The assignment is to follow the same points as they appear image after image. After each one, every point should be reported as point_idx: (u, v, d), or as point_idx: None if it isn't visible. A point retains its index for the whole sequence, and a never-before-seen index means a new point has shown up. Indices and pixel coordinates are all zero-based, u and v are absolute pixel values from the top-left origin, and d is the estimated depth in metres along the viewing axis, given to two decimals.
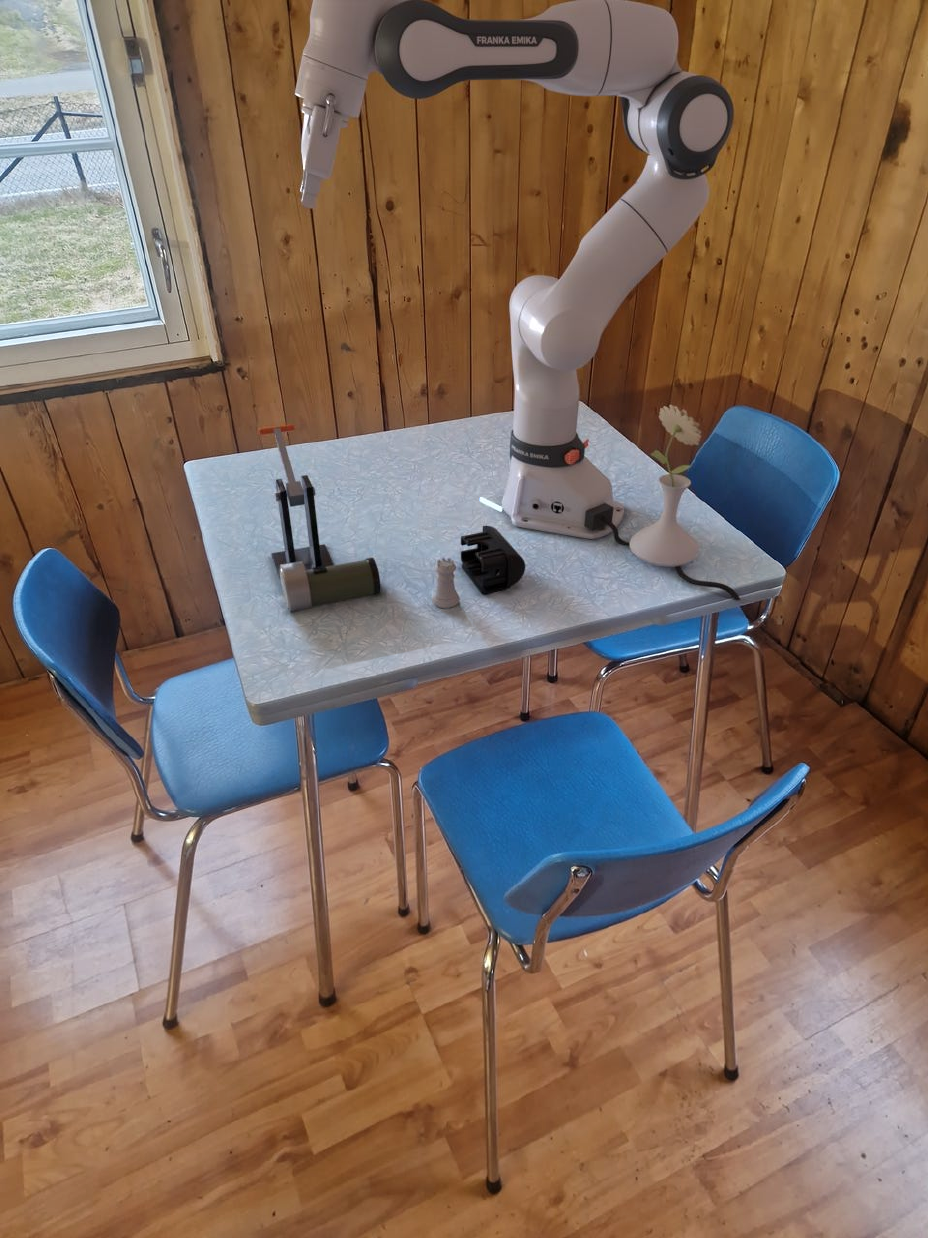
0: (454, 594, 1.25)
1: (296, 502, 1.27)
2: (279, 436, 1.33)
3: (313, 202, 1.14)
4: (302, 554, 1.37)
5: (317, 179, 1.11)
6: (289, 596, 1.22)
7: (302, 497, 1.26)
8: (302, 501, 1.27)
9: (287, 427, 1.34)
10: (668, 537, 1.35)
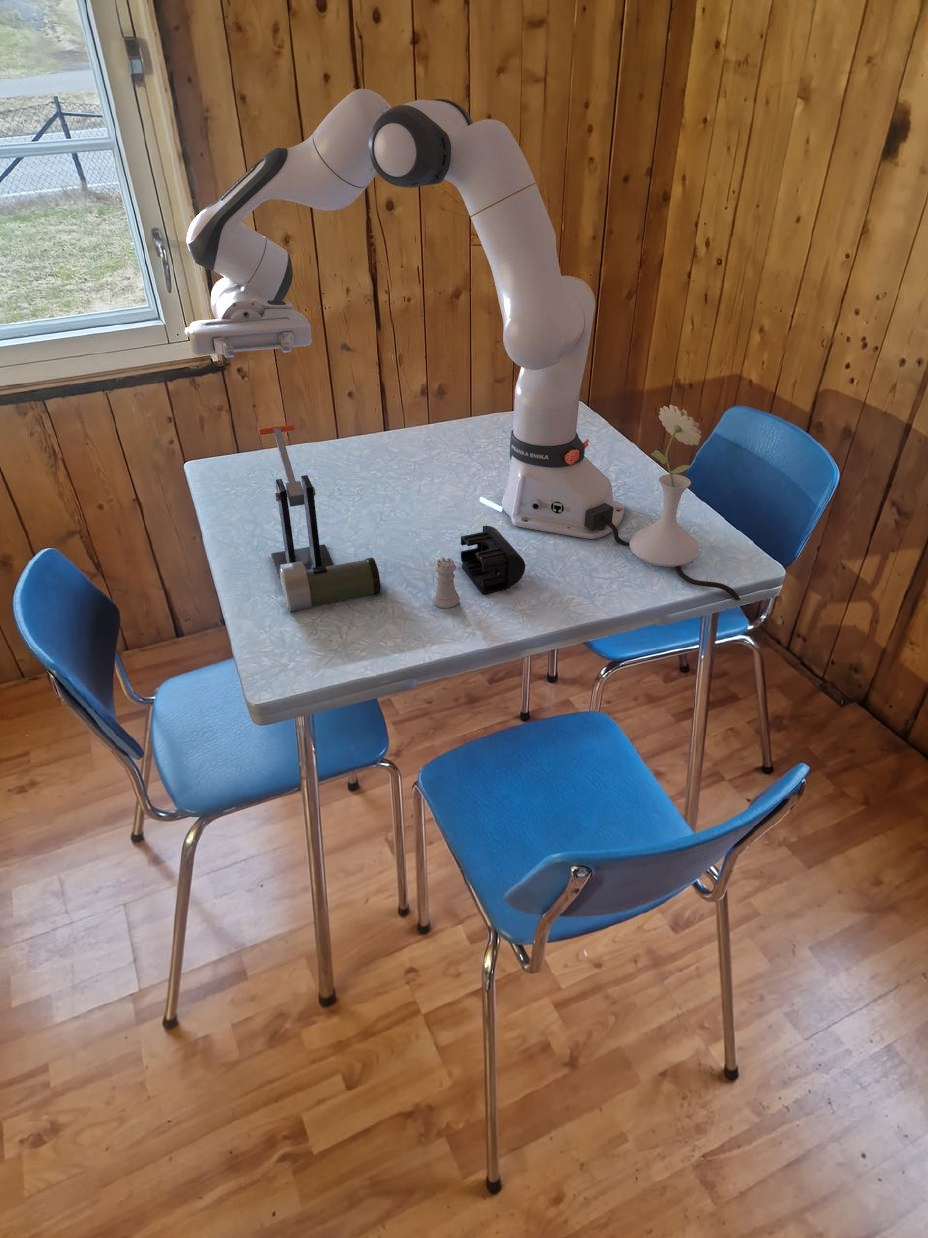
0: (454, 594, 1.25)
1: (296, 502, 1.27)
2: (279, 436, 1.33)
3: (223, 347, 1.35)
4: (302, 554, 1.37)
5: (214, 342, 1.37)
6: (289, 596, 1.22)
7: (302, 497, 1.26)
8: (302, 501, 1.27)
9: (287, 427, 1.34)
10: (668, 537, 1.35)
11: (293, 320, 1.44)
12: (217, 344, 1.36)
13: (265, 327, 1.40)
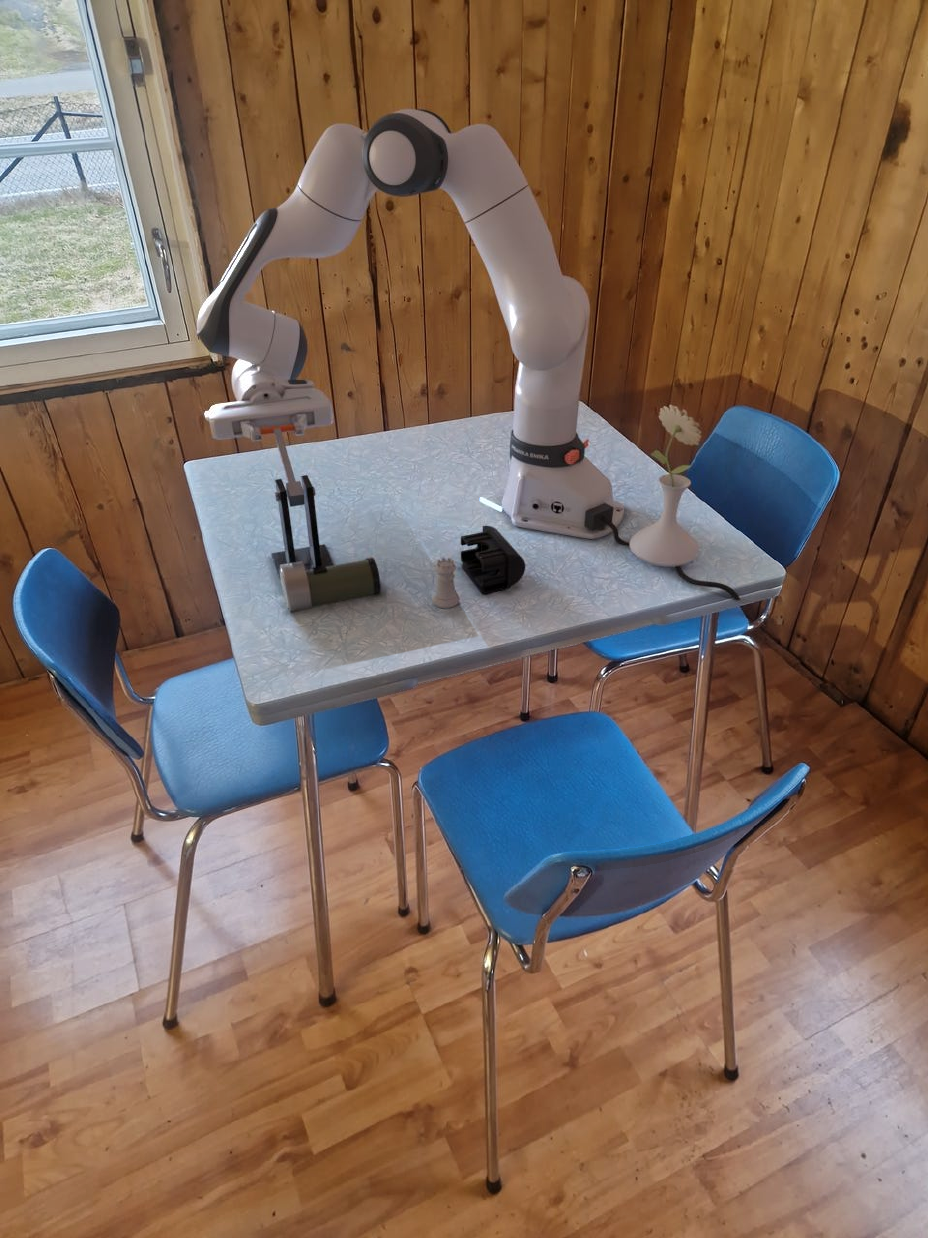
0: (454, 593, 1.25)
1: (296, 502, 1.27)
2: (279, 436, 1.33)
3: (250, 431, 1.32)
4: (302, 554, 1.37)
5: (241, 426, 1.34)
6: (289, 596, 1.22)
7: (302, 497, 1.26)
8: (302, 501, 1.27)
9: (287, 427, 1.34)
10: (668, 537, 1.35)
11: (314, 399, 1.40)
12: (244, 428, 1.33)
13: (285, 408, 1.36)
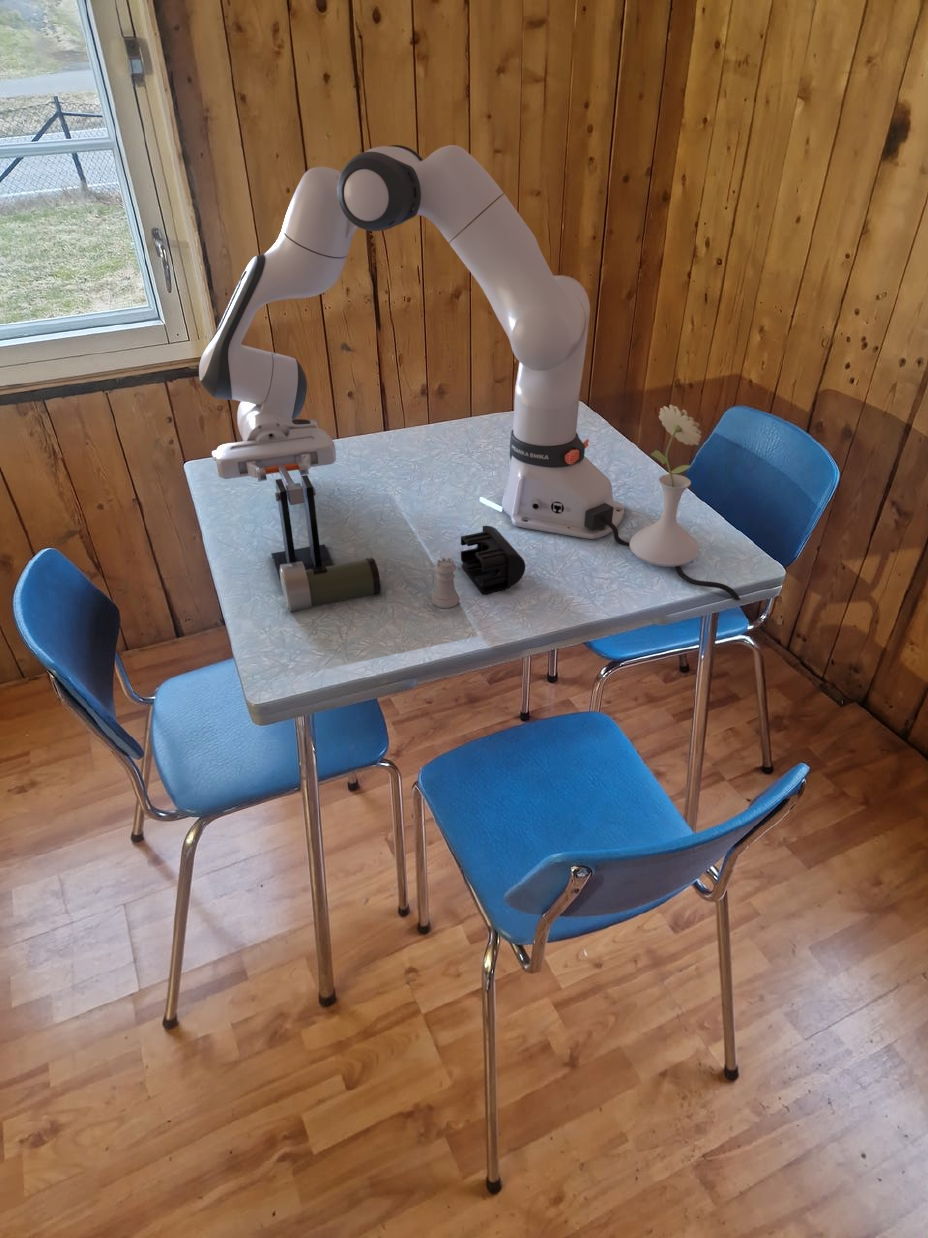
0: (454, 594, 1.25)
1: (296, 499, 1.26)
2: (283, 469, 1.37)
3: (256, 472, 1.37)
4: (302, 554, 1.37)
5: (247, 466, 1.39)
6: (289, 596, 1.22)
7: (301, 492, 1.26)
8: (302, 498, 1.26)
9: (291, 465, 1.39)
10: (668, 537, 1.35)
11: (318, 439, 1.45)
12: (250, 468, 1.38)
13: (290, 449, 1.41)
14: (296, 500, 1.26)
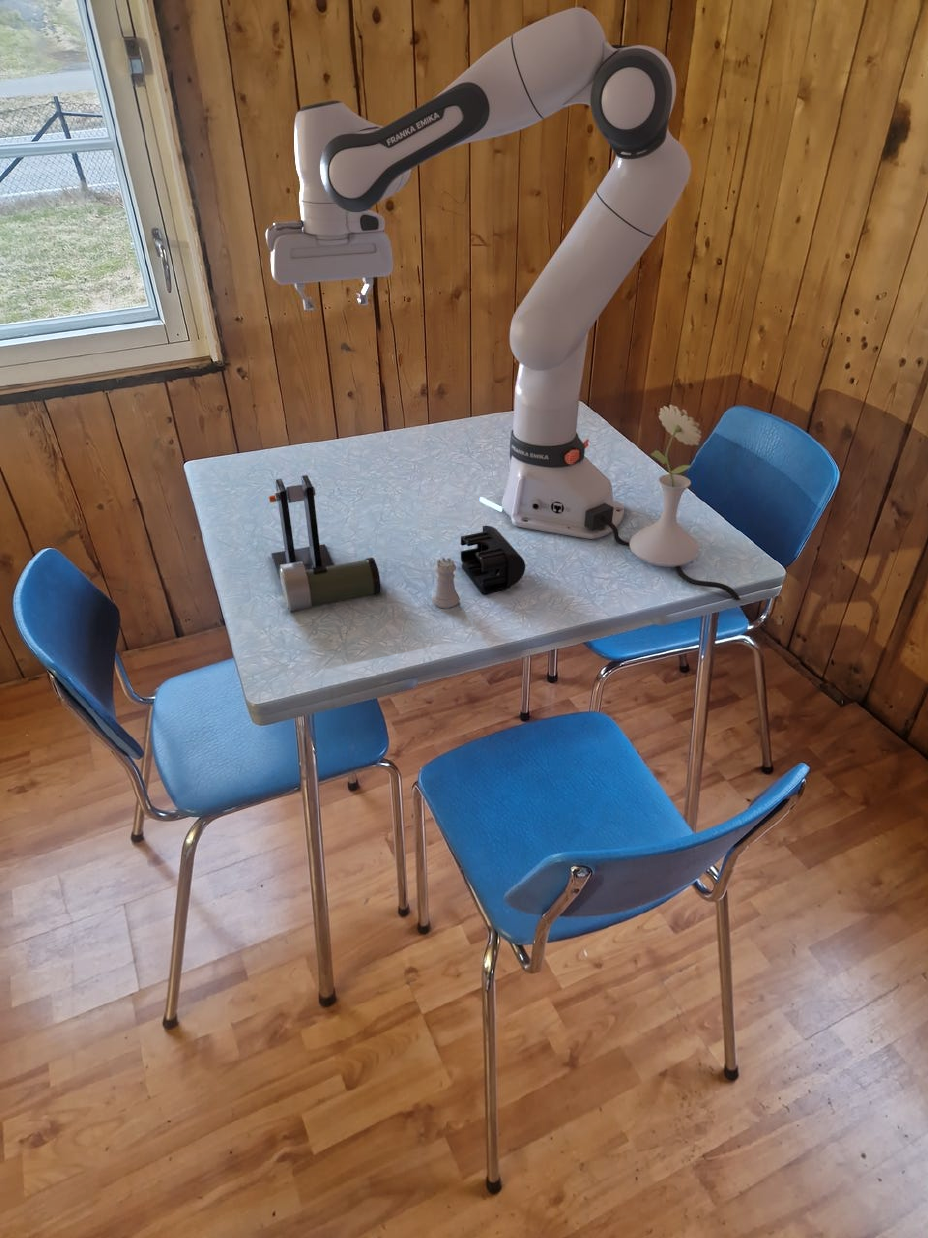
0: (454, 594, 1.25)
1: (295, 496, 1.26)
2: None
3: (304, 305, 1.40)
4: (302, 554, 1.37)
5: (296, 286, 1.38)
6: (289, 596, 1.22)
7: (301, 489, 1.26)
8: (301, 495, 1.26)
9: None
10: (668, 537, 1.35)
11: (379, 255, 1.39)
12: (299, 293, 1.39)
13: (349, 274, 1.39)
14: (296, 497, 1.26)
